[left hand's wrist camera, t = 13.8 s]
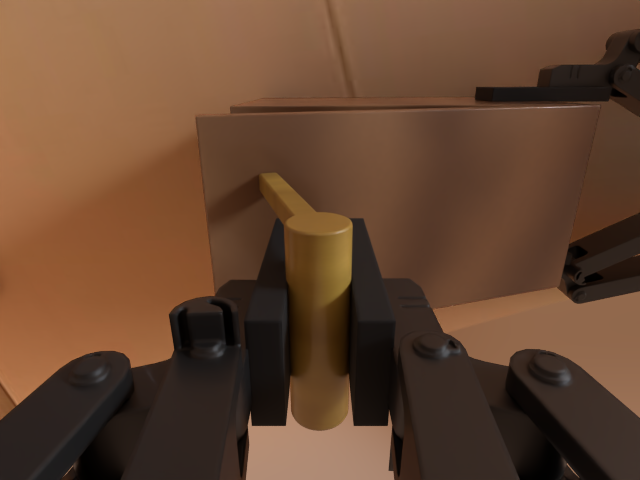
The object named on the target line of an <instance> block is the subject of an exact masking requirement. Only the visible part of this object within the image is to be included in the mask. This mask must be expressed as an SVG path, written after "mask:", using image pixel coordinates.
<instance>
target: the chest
mask: <svg viewBox="0 0 640 480" xmlns="http://www.w3.org/2000/svg"><path fill="white" fill-rule="evenodd" d="M540 105H577V104H576V103H564V102H552V101H493V102H492V101H483V100H475V97H383V98H262V99H258V100H254V101H250V102H246V103H242V104H238V105H234V106H231V107H230V111H231V114H240V113H277V112H315V111H352V110H390V109H427V108H465V107H502V106H540Z"/></svg>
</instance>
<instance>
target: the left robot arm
mask: <svg viewBox="0 0 640 480" xmlns="http://www.w3.org/2000/svg"><path fill="white" fill-rule="evenodd" d="M349 219H350V220H351V222H352V224H353V232H352V274H351V308H350V345H349V382H350V391H351V402H352V412H353V422H354V426H388V416H389V411H390V416H391V421H392V437H391V449H390V460H389V471H394V480H640V418H639V417H638V416H637V415H636V414H635V413H633V412H632V411H631V410H630V409H629V408H628V407H626V406H625V405H624V404H623V403H622V402H621V401H619V400H618V399H617V398H616V397H615V396H614V395H612V394H611V393H610V392H609V391H608V390H607V389H605V388H604V387H603V386H602V385H601V384H600V383H598V382H597V381H596V380H595V379H594V378H593V377H592V376H590V375H589V374H588V373H587V372H586V371H585V370H583V369H582V368H581V367H580V366H578V365H577V364H575V363H574V362H572V361H571V360H569V359H568V358H565V357H563V356H561V355H558V354H556V353H554V352H550V351H546V350H540V349H525V350H521V351H518V352H516V353H515V354H514V355H513V356H512V357H511V358H510V363H509V366H504V365H499V364H494V363H489V362H484V361H481V360H477V359H474V358H471V357H469V356H468V354H467V351H466V349H465V348H464V347H463V345H462V344H461V343H460V341H458V340H457V339H455V338H454V337H452V336H451V335H448V334H445V333H443V331H442V329H441V327H440V325H439V323H438V320H437V318H436V316H435V314H434V312H433V310H432V308H431V307H430V304H429V302H428V300H427V299H426V296H425V294H424V292H423V290H422V288H421V287H420V286H419V285H418V284H416V283H415V282H414V281H412V280H411V279H410V278H382V275H381V272H380V269H379V266H378V263H377V260H376V256H375V253H374V250H373V247H372V244H371V241H370V237H369V234H368V231H367V228H366V225H365V222H364V219H363V218H349ZM169 318H170V325H171V331H172V337H173V344H174V352H173V355H172V357H171V358H170V359H168V360H165V361H162V362H158V363H154V364H149V365H145V366H140V367H135V368H131V365H130V360H129V359H128V358H127V357H126V356H125V355H124V354H123V353H119V352H116V351H100V352H94V353H90V354H86V355H84V356H82V357H79V358H77V359H75V360H72V361H71V362H69V363H68V364H66V365H65V366H63V367H62V368H60V369H59V370H58V371H57V372H55V373H54V374H53V375H52V376H51V377H50V378H49V379H47V380H46V381H45V382H44V383H43V384H42V385H40V386H39V387H38V388H37V389H36V390H35V391H34V392H32V393H31V394H30V395H29V396H28V397H27V398H25V399H24V400H23V401H22V402H21V403H20V404H19V405H17V406H16V407H15V408H14V409H13V410H12V411H10V412H9V413H8V414H7V415H6V416H5V417H4V418H2V419H1V420H0V480H246V471H247V461H248V451H249V436H248V421H249V416H250V411H251V420H252V426H286V418H287V408H288V398H289V388H290V378H291V367H290V337H289V308H288V283H287V281H286V267H285V242H284V225H283V223H282V222H281V220H280V219H279V218H276V221H275V224H274V227H273V230H272V233H271V236H270V239H269V243H268V246H267V249H266V252H265V255H264V258H263V261H262V265H261V268H260V271H259V274H258V277H257V280H229V281H228V282H226V283H225V284H224V285H222V286H221V287H220V288H219V289H218V291H217V293H216V295H215V296H207V297H200V298H195V299H192V300H188V301H185V302H183V303H182V304H180V305H178V306H176V307H175V308H174V309H173V310H172V311H171V312H170V314H169ZM567 463H568V464H569V466H570V467H571V468H572V469H573V470H574V472H575V473H576V474H577V475H578V476H579V477H578V476H577V475H576V474H574V473H573V471H572V470H571V469H570V468H569V467H568V465H567ZM72 465H73V467H72ZM71 467H72V468H71ZM70 468H71V470H70V471H69V472H68V470H69V469H70ZM67 472H68V473H67ZM66 473H67V474H66ZM65 474H66V475H65ZM64 475H65V476H64ZM63 476H64V477H63Z"/></svg>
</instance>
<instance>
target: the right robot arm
mask: <svg viewBox="0 0 640 480" xmlns="http://www.w3.org/2000/svg"><path fill="white" fill-rule="evenodd" d="M606 50H607V51H606V53H605V55H604V56H603V58H602V59H601V60H600V61H599V62H598V63H596V64H594V65H554V66H548V67H545V68H543V69H540V72H539V78H538V84H537V87H476V95H475V100H483V101H492V102H493V101H552V102H577V101H609V98H610V99H612V100H613V101H615V102H617V103H618V104H620V105H621V106H623V107H624V108H626V109H628V110H629V111H631V112H632V113H634V114H635V115H637V116H639V117H640V70H638V69H637V68H636V66H637V64H638V63H640V29H635V30H630V31H624V32H618V33H615V34H613V35H611V36H610V37H609V39H608V40H607V43H606ZM637 254H640V213H638V214H636V215H634V216H631V217H629V218H627V219H625V220H622V221H620V222H618V223H616V224H613V225H611V226H609V227H606V228H604V229H602V230H600V231H597V232H595V233H593V234H591V235H588V236H586V237H584V238H582V239H579V240H577V241H575V242H573V243H570V244H569V246H568V251H567V255H566V259H565V264H564V268H563V272H562V277H561V281H560V285H559V287H557V288H558V289H559V290H561V291H562V292H563V293H564V294H565V295H566V296H567V297H569V298H570V299H571V300H572V301H573V302H575V303H577V304H580V303H585V302H590V301H595V300H600V299H604V298H609V297H614V296H619V295H623V294H628V293H633V292H638V291H640V255H639V256H635V255H637ZM633 256H634V257H633Z"/></svg>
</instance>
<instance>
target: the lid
mask: <svg viewBox="0 0 640 480" xmlns="http://www.w3.org/2000/svg"><path fill="white" fill-rule="evenodd" d="M600 107H601V106H600V105H587V104H577V105H540V106H502V107H465V108H427V109H390V110H352V111H315V112H277V113H240V114H202V115H195V119H196V128H197V137H198V146H199V155H200V164H201V173H202V182H203V191H204V200H205V209H206V218H207V227H208V236H209V245H210V254H211V262H212V271H213V280H214V289H215V295H216V293H217V291H218V289H219V288H220V287H221V286H222V285H224V284H225V283H226V282H228V281H229V280H257V277H258V274H259V271H260V268H261V265H262V261H263V258H264V255H265V252H266V249H267V246H268V243H269V239H270V236H271V233H272V230H273V227H274V224H275V221H276V218H279V219H280V220H281V222H282V223H283V225H284V242H285V267H286V281H287V283H288V308H289V337H290V367H291V378H290V392H291V412H292V415H293V417H294V418H295V420H296V421H297V422H298V423H299V424H300V425H301V426H303V427H305V428H308V429H311V430H317V431H322V430H328V429H332V428H334V427H336V426H338V425H339V424H340V423H341V422H342V421H343V420H344V419H345V417H346V416H347V413H348V398H349V345H350V308H351V274H352V232H353V224H352V222H351V220H350V219H349V218H363V219H364V222H365V225H366V228H367V231H368V234H369V237H370V241H371V244H372V247H373V250H374V253H375V256H376V260H377V263H378V266H379V269H380V272H381V275H382V278H410V279H411V280H412V281H414V282H415V283H416V284H418V285H419V286H420V287H421V288H422V290H423V292H424V294H425V296H426V299H427V300H428V302H429V304H430V307H431V308H432V309H437V308H442V307H448V306H453V305H459V304H465V303H470V302H476V301H481V300H487V299H492V298H498V297H504V296H509V295H515V294H520V293H526V292H532V291H537V290H543V289H548V288H554V287H559V285H560V281H561V277H562V272H563V268H564V264H565V259H566V255H567V251H568V246H569V242H570V238H571V233H572V229H573V225H574V220H575V216H576V212H577V207H578V203H579V199H580V194H581V190H582V186H583V181H584V177H585V173H586V168H587V164H588V160H589V155H590V151H591V147H592V142H593V138H594V134H595V129H596V125H597V120H598V116H599V112H600Z"/></svg>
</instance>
